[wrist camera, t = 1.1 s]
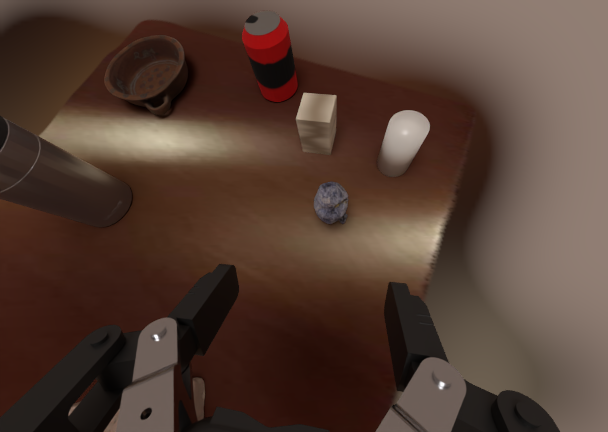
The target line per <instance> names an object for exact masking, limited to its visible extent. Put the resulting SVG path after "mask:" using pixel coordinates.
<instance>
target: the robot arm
mask: <svg viewBox="0 0 608 432" xmlns="http://www.w3.org/2000/svg"><path fill="white" fill-rule="evenodd" d="M0 199H3V200H6V201H9V202H13V203H16V204H20V205H23V206H27V207H30V208H33V209H37V210H40V211H44V212H47V213H51V214H54V215H57V216H61V217H64V218H68V219H71V220H74V221H78V222H81V223H85V224H88V225H92V226H95V227H106V226H110V225H112V224H114V223H116V222H117V221H118V220H120V219H121V218H122V217H123V216H124V215H125V213H126V212H127V211H128V209H129V207H130V204H131V201H132V192H131V189H130V187H129V186H128V185H127V184H126V183H124V182H122V181H120V180H119V179H117V178H115V177H113V176H111V175H109V174H107V173H106V172H104V171H102V170H100V169H98V168H96V167H95V166H93V165H91V164H89V163H87V162H85V161H83V160H82V159H80V158H78V157H76V156H74V155H72V154H70V153H68V152H67V151H65V150H63V149H61V148H59V147H57V146H55V145H54V144H52V143H50V142H48V141H46V140H44V139H42V138H40V137H39V136H37V135H35V134H33V133H31V132H29V131H27V130H25V129H23V128H22V127H20V126H18V125H16V124H14V123H12V122H10V121H9V120H7V119H5V118H3V117H1V116H0ZM238 293H239V285H238V279H237V273H236V268H235V266H234V265H226V264H219V265H218V266H217V267H216V269H215V270H214V271H213V272H212V273H210V272H209V273H208V274H206V275H205V276H203V277H202V278H200V279H199V280H198V282H197V283H196V284H195V285H194V287H192V289H191V290H190V291H189V293H188V294H187V295H186V296H185V297H184V298H183V299H182V300H181V302H180V303H179V304H178V305H177V306H176V307H175V309H174V310H173V311H172V312H171V313H170V315H169V316H168V317H167V318H162V319H158V320H156V321H154V322H152V323H151V324H149V325H148V326H147V327H145V328H144V330H142V331H135V332H129V333H123V332H122V331H121V329H120V327H119V326H117V325H108V326H105V327H102V328H99V329H97V330H95V331H94V332H92V333H90V334H89V335H88V336H87V337H85V338H84V339H83V340H82V341H81V342H80V343H79V344H78V345H77V346H76V347H75V348H74V349H73V350H72V351H70V352H69V353H68V354H67V355H66V356H65V357H64V358H63V359H62V360H61V361H60V362H59V363H58V364H57V365H56V366H55V367H53V368H52V369H51V370H50V371H49V372H48V373H47V374H46V375H45V376H44V377H43V378H42V379H41V380H40V381H39V382H38V383H37V384H35V385H34V386H33V387H32V388H31V389H30V390H29V391H28V392H27V393H26V394H25V395H24V396H23V397H22V398H21V399H20V400H19V401H17V402H16V403H15V404H14V405H13V406H12V407H11V408H10V409H9V410H8V411H7V412H6V413H5V414H4V415H3V416H2V417H1V418H0V432H104V430H105V429H106V427H107V426H108V425H109V423H110V422H111V420H112V419H113V417H114V416H115V414H116V413H117V412H118V410H119V409H120V410H119V416H118V422H117V428H116V432H329V430H325V429H320V428H316V427H311V426H306V425H301V424H298V425H289V426H281V427H273V428H269V427H266V426H264V425H263V424H261V423H260V422H258V421H256V420H255V419H253V418H251V417H250V416H248V415H247V414H245V413H243V412H240V411H235V410H230V409H226V408H221V407H217V408H216V410H215V412H214V415H213V416H212V417H208V418H204V419H201V420H199V421H198V420H197V415H196V410H195V404H194V392H193V378H192V365H191V360H192V358H193V356H194V355H195V354H196V355H201V356H204V355H205V353H206V351H207V349H208V348H209V346H210V344H211V342H212V341H213V339H214V337H215V335H216V334H217V332H218V330H219V328H220V327H221V325H222V323H223V321H224V320H225V318H226V316H227V314H228V313H229V311H230V309H231V308H232V306H233V304H234V302H235V301H236V299H237V296H238ZM384 316H385V323H386V329H387V334H388V340H389V346H390V352H391V358H392V364H393V370H394V376H395V381H396V387H397V391H402V392H403V394H402V395H401V397H400V398H399V400H398V402H397V403H396V404H395V405H393V406H392V407H391V408H390V410H389V411H388V413H387V414H386V416H385V417H384V419H383V421H382V422H381V424H380V426H379V427H378V429H377V430H376V432H560V431H559V429H558V427H557V426H556V424H555V422H554V421H553V419H552V418H551V417H550V416H549V414H548V413H547V412H546V411H545V410H544V409H543V408H542V407H541V406H540V405H539V404H537V403H536V402H535V401H533V400H532V399H530V398H529V397H527V396H525V395H523V394H521V393H519V392H515V391H510V390H506V391H502V392H501V393H500V394H499V395H498V396H497V395H495V394H492V393H490V392H488V391H486V390H484V389H481V388H479V387H477V386H475V385H473V384H471V383H469V382H467V381H466V380H464V379H463V377H462V376H461V374H460V373H459V372H458V371H457V369H456V368H454V367H453V366H452V365H451V364H450V363H449V362H448V360H447V357H446V355H445V352H444V349H443V347H442V345H441V342H440V339H439V336H438V334H437V332H436V329H435V326H434V324H433V321H432V319H431V317H430V313H429V311H428V308H427V306H426V304H425V303H424V302H423V301H422V300H421V299H420V298H419V296H413V295H410V292H409V289H408V286H407V284H406V283H396V282H389V285H388V290H387V295H386V300H385V307H384ZM95 378H96V379H97V381H98V382H97V383H96V384H95V385H94V387H93V388H92V389H91V390H90V391H89V393H88V394H87V395H86V396H85V397H84V398H83V400H82V401H81V402H80V403H79V404H78V406H77V407H76V408H75V409H74V410H73V411H72V413H71V414H70V415H69V411H70V409H71V407H72V406H73V404H74V403H75V401H76V400H77V399H78V398H79V397H80V396H81V395H82V393H83V392H84V391H85V390H86V389H87V388H88V386H89V385H90V384H91V383H92V382H93V381H94V380H95ZM68 415H69V416H68Z"/></svg>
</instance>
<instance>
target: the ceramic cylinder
mask: <svg viewBox="0 0 608 432" xmlns="http://www.w3.org/2000/svg"><path fill="white" fill-rule="evenodd" d="M429 129H430V125H429V121H428V120H427V118H426V117H425V116H424V115H422V114H421V113H419V112H416V111H411V110H405V111H401V112H398V113H396V114H395V115H394V116H393V117H392V118H391V119H390V121H389V124H388V128H387V131H386V134H385V137H384V140H383V143H382V147H381V150H380V153H379V156H378V159H377V167H378V169H379V171H380V172H381V173H383V174H384V175H386V176H389V177H397V176H400V175H402V174H404V173H405V172H406V170H407V169H408V167H409V165H410V164H411V162H412V160H413V158H414V157H415V155H416V153H417V151H418V150H419V148H420V146H421V144H422V143H423V141H424V139H425V137H426V136H427V134H428V132H429Z"/></svg>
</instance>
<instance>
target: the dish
mask: <svg viewBox="0 0 608 432" xmlns="http://www.w3.org/2000/svg"><path fill="white" fill-rule="evenodd" d="M187 78H188V68H187V64H186V61H185V58H184V50H183V47H182V46H181V44H180V43H179V42H178V41H177V40H175V39H173V38H171V37H169V36H164V35H157V36H150V37H143V38H141V39H138V40H136V41H134V42H133V43H131V44H129V45H128V46H126V47H125V48H124V49H123V50H121V51H120V52H119V53H118V54H117V55H116V56H115V57H114V58H113V59H112V61H111V62H110V64H109V66H108V68H107V70H106V73H105V78H104V82H105V85H106V87H107V89H108V91H109V92H110V93H111V94H112V95H114V96H116V97H118V98H121V99H124V100H126V101H128V102H130V103H133V104H135V105H138V106H143V107H147V108H148V109H149V110H150V111H151V112H152V113H153V114H155V115H163V114H165V113H166V112H168V110H169V109H170V107H171V101H172V99H174V98H175V97H176V96H177V95H178V94H179V93H180V92H181V91H182V90H183V88H184V86H185V84H186V82H187ZM159 105H161V106H159ZM156 106H159V107H157V108H155V107H156Z"/></svg>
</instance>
